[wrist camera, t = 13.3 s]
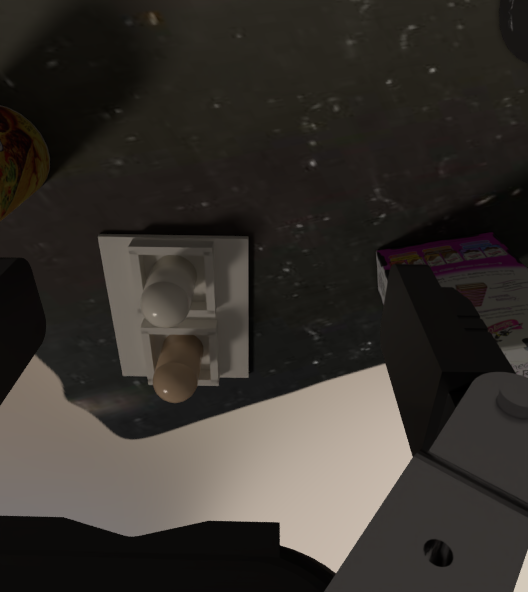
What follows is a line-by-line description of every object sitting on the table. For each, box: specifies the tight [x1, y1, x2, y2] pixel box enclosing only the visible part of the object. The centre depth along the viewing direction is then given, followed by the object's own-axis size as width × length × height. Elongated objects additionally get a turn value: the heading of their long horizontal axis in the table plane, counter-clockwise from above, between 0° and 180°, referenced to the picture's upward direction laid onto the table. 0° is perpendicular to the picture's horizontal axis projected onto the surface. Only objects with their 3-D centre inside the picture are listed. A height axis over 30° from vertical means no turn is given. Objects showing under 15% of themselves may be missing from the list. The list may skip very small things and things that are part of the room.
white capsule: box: [140, 255, 197, 328], centre depth 44 cm, size 4×4×7 cm
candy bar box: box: [376, 232, 528, 378], centre depth 40 cm, size 11×5×16 cm, turn 101°
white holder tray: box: [98, 234, 249, 386], centre depth 49 cm, size 14×17×2 cm
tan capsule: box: [153, 335, 204, 403], centre depth 49 cm, size 4×4×7 cm
